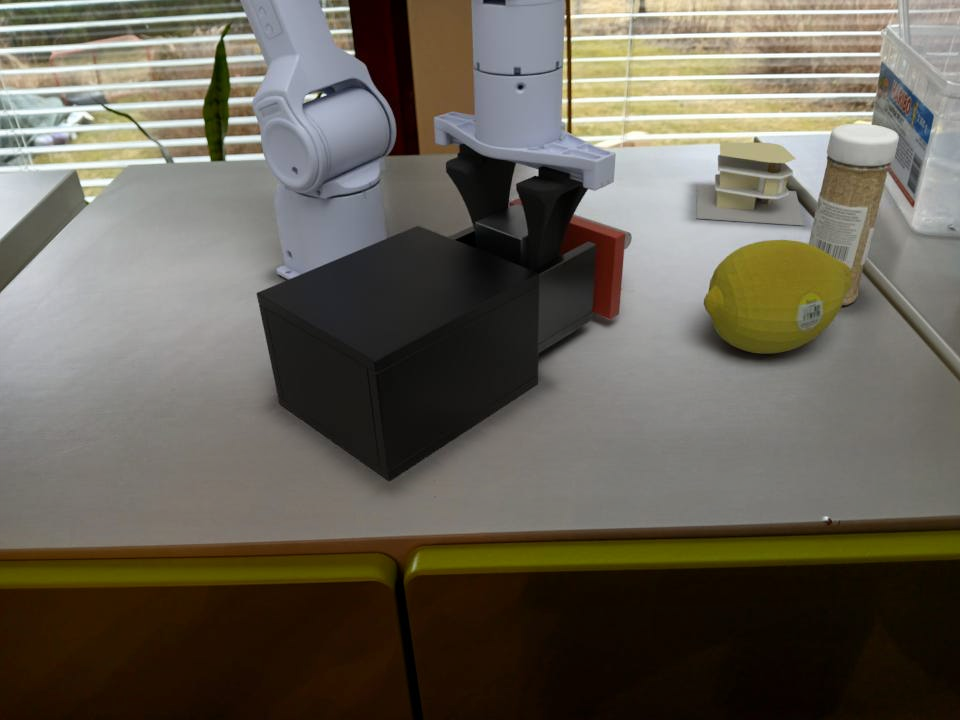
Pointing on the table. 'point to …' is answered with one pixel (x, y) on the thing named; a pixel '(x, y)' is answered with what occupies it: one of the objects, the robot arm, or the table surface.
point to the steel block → (505, 235)
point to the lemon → (776, 295)
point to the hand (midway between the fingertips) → (518, 258)
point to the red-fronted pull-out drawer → (576, 277)
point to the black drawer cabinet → (402, 344)
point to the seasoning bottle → (852, 195)
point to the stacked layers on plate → (751, 186)
